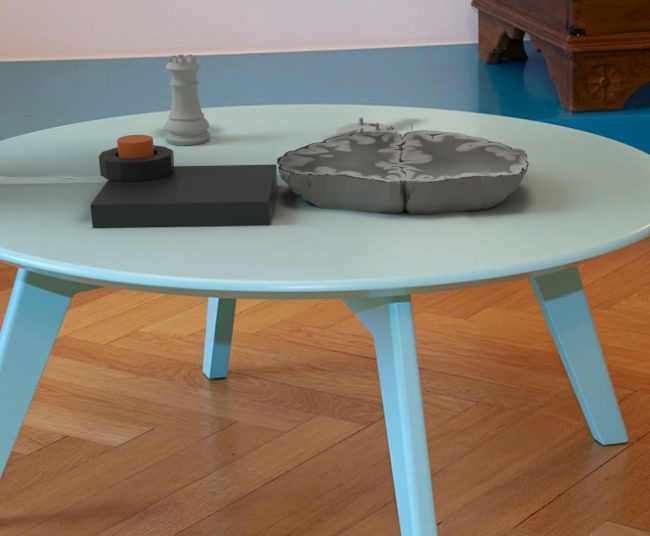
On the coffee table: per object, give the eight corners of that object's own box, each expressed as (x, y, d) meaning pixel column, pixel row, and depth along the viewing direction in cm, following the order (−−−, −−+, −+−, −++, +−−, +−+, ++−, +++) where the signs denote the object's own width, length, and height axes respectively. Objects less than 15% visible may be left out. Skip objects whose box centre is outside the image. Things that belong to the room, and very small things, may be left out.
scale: (81, 229, 83) (76, 183, 82) (111, 187, 94) (107, 145, 93) (270, 226, 83) (268, 179, 81) (277, 184, 94) (276, 142, 92)
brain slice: (514, 163, 99) (516, 129, 97) (535, 220, 83) (537, 180, 82) (290, 164, 100) (289, 131, 99) (268, 220, 84) (267, 181, 83)
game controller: (330, 154, 103) (329, 125, 102) (356, 128, 113) (356, 102, 112) (391, 156, 102) (391, 127, 101) (412, 129, 112) (412, 103, 111)
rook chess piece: (185, 148, 106) (179, 61, 103) (155, 141, 109) (148, 57, 106) (220, 139, 109) (216, 55, 106) (190, 133, 112) (184, 51, 109)
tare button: (115, 162, 89) (114, 142, 88) (122, 153, 91) (120, 134, 91) (151, 161, 89) (149, 142, 88) (156, 153, 91) (155, 134, 91)
